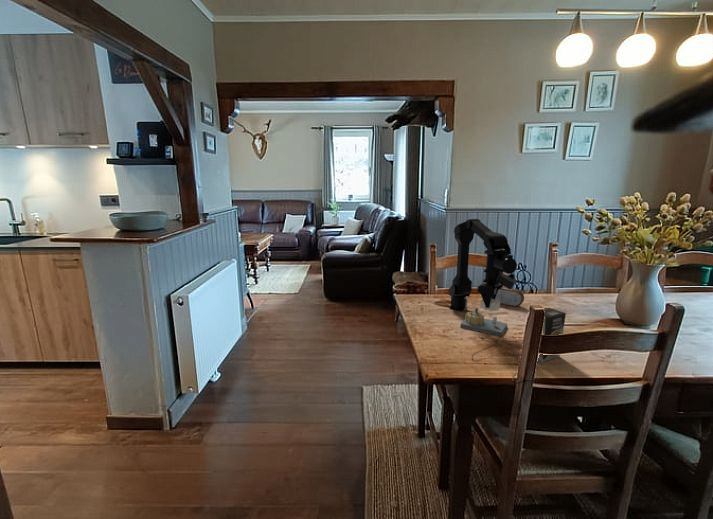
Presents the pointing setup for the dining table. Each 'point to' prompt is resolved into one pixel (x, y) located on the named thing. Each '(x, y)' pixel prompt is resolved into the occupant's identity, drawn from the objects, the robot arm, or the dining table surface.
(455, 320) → the dining table surface
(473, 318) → the gear board
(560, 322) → the coffee box
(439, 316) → the dining table surface
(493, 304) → the loose gear
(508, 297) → the tin
